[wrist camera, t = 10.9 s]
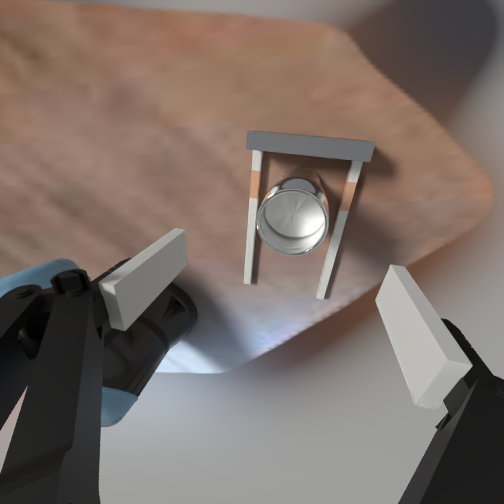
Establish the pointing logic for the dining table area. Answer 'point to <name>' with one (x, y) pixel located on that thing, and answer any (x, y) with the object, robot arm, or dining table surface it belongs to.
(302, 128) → the dining table surface
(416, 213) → the dining table surface
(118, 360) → the robot arm
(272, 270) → the dining table surface
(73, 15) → the dining table surface
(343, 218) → the guide track
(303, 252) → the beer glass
